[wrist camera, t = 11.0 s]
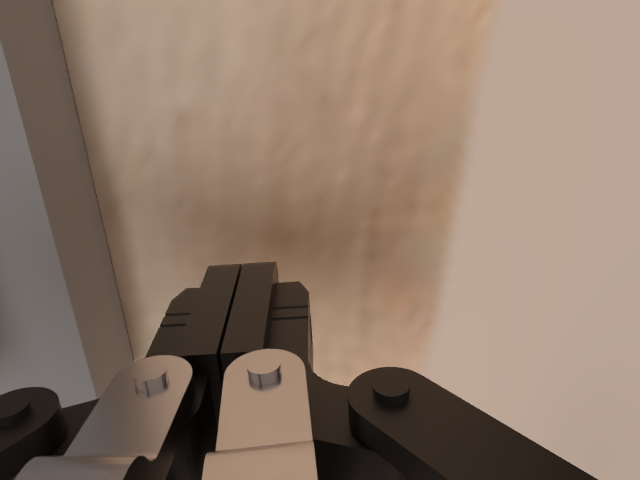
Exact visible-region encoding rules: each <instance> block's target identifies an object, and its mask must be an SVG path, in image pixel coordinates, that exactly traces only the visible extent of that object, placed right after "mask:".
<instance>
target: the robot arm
mask: <svg viewBox="0 0 640 480" xmlns="http://www.w3.org/2000/svg"><path fill="white" fill-rule="evenodd" d="M165 315H166V316H165V317H164V318H163V320H162V322H161V325H160V328H159V329H158V331H157V333H156V335H155V338H154V340H153V342H152V344H151V346H150V348H149V351H148V353H147V355H146V357H145V358H144V359H141V360H138V361H136V362H133V363H131V364H130V365H128V366H126V367H125V368H123V369H122V370H120V371H119V372H118V373H117V374H116V375H115V376H114V378H113V379H112V381H111V382H110V384H109V385H108V387H107V388H106V390H105V392H104V393H103V395H102V396H101V398H98V399H95V400H92V401H88V402H84V403H80V404H77V405H73V406H69V407H65V408H62V407H61V404H60V400H59V397H58V395H57V394H56V393H55V392H54V391H53V390H51V389H48V388H44V387H27V388H21V389H16V390H13V391H10V392H7V393H4V394H2V395H0V480H598V479H596V478H594V477H593V476H591V475H589V474H588V473H586V472H584V471H582V470H581V469H579V468H577V467H576V466H574V465H572V464H571V463H569V462H567V461H566V460H564V459H562V458H561V457H559V456H557V455H555V454H554V453H552V452H550V451H549V450H547V449H545V448H544V447H542V446H540V445H539V444H537V443H535V442H533V441H532V440H530V439H528V438H527V437H525V436H523V435H522V434H520V433H518V432H517V431H515V430H513V429H512V428H510V427H508V426H507V425H505V424H503V423H501V422H500V421H498V420H496V419H495V418H493V417H491V416H490V415H488V414H486V413H485V412H483V411H481V410H480V409H477V408H476V407H474V406H473V405H471V404H469V403H468V402H466V401H464V400H463V399H461V398H459V397H457V396H456V395H454V394H452V393H451V392H449V391H447V390H446V389H444V388H442V387H441V386H439V385H437V384H436V383H434V382H432V381H431V380H429V379H427V378H425V377H424V376H422V375H420V374H418V373H416V372H414V371H411V370H408V369H404V368H398V367H382V368H376V369H372V370H369V371H366V372H364V373H362V374H361V375H359V376H358V377H356V378H355V379H354V380H353V381H352V383H351V384H350V386H349V387H348V386H342V385H337V384H333V383H330V382H328V381H326V380H323V379H322V378H320V377H319V376H317V375H316V374H315V373H314V372H313V342H312V329H311V316H310V304H309V292H308V291H307V290H306V289H305V287H304V286H303V285H302V284H301V283H300V282H283V283H279V280H278V270H277V265H276V262H264V263H248V264H243V266H242V264H233V265H217V266H209V267H208V269H207V271H206V274H205V277H204V279H203V282H202V284H201V287H200V288H186V289H185V290H184V291H183V292H181V293H180V294H179V295H178V296H177V297H175V298H174V299H173V300H172V301H171V303H170V305H169V307H168V309H167V312H166V314H165Z"/></svg>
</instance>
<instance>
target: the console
mask: <svg viewBox="0 0 640 480" xmlns="http://www.w3.org/2000/svg"><path fill="white" fill-rule="evenodd" d="M133 362H134V359H133V355H132V351H131V346H130V342H129V337H128V333H127V329H126V324H125V320H124V316H123V311H122V307H121V302H120V298H119V294H118V289H117V285H116V281H115V276H114V272H113V267H112V263H111V259H110V254H109V250H108V246H107V241H106V237H105V232H104V228H103V224H102V219H101V215H100V211H99V206H98V202H97V197H96V193H95V189H94V184H93V180H92V176H91V171H90V167H89V162H88V158H87V154H86V149H85V145H84V141H83V136H82V132H81V128H80V123H79V119H78V114H77V110H76V106H75V101H74V97H73V93H72V88H71V84H70V79H69V75H68V71H67V66H66V62H65V58H64V53H63V49H62V44H61V40H60V36H59V31H58V27H57V23H56V18H55V14H54V9H53V5H52V1H51V0H0V395H2V394H4V393H7V392H10V391H13V390H16V389H21V388H27V387H44V388H48V389H51V390H53V391H54V392H55V393H56V394H57V395H58V397H59V400H60V404H61V407H62V408H65V407H69V406H73V405H77V404H80V403H84V402H88V401H92V400H95V399H98V398H101V396H102V395H103V393H104V392H105V390H106V388H107V387H108V385H109V384H110V382H111V381H112V379H113V378H114V376H115V375H116V374H117V373H118V372H119V371H120V370H122V369H123V368H125V367H126V366H128V365H130V364H131V363H133Z"/></svg>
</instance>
